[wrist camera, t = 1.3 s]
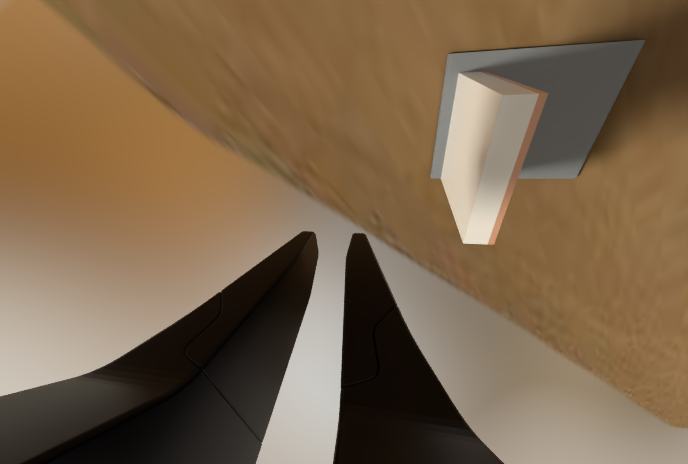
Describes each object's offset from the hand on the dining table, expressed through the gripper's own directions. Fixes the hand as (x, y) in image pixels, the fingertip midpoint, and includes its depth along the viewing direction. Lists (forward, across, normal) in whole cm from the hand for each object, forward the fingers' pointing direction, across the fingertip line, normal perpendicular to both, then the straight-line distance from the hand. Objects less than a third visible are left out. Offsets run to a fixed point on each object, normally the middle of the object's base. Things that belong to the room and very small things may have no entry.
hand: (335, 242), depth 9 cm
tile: (+13, -6, 0) cm, 14 cm away
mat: (+13, -10, 0) cm, 16 cm away
